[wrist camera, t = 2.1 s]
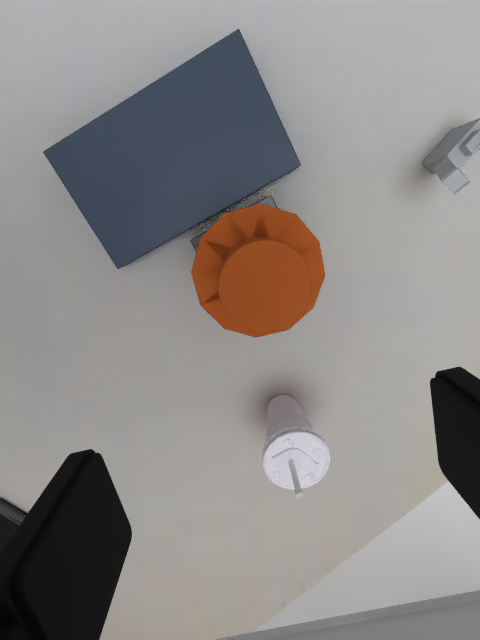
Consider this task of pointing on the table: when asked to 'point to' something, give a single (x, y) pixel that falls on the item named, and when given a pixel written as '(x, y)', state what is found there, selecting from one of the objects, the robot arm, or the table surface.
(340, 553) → the table surface
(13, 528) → the cell phone
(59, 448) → the table surface
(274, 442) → the smoothie
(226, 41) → the low stand
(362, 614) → the robot arm
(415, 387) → the table surface
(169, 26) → the table surface
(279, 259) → the hat
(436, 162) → the lighter
